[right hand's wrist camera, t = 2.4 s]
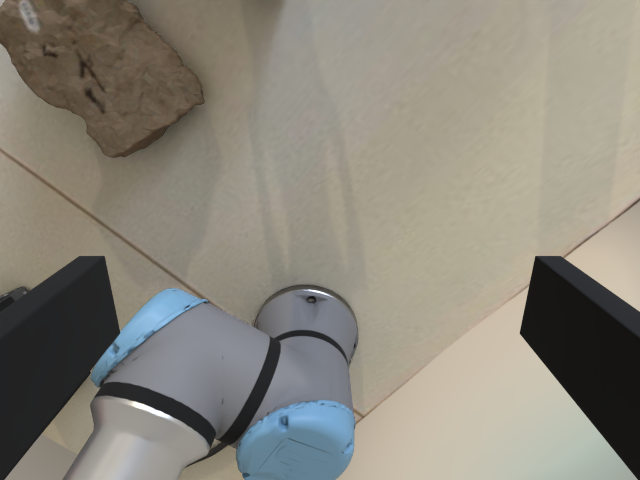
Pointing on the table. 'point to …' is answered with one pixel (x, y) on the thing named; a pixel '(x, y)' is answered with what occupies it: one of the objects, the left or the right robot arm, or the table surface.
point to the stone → (100, 68)
